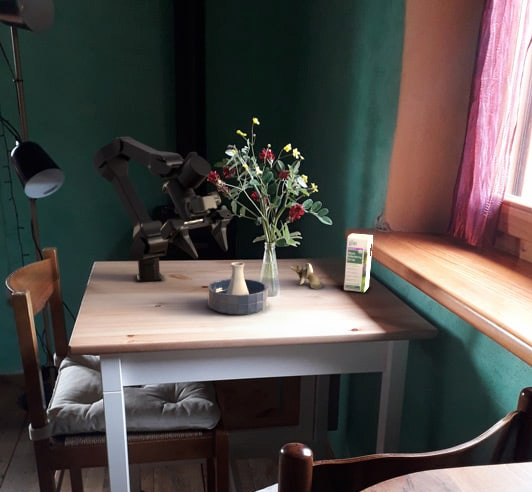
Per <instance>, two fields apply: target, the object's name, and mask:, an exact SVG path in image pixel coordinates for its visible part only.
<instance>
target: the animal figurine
mask: <svg viewBox="0 0 532 492" xmlns="http://www.w3.org/2000/svg"><path fill="white" fill-rule="evenodd" d="M289 267H290V270H291V271H293V272H295V273H296V274H297V275H298V278H299V279H300V282H299V286H301V285H303V284H304V283H305V281H306V280H308V281H309V283H310V288H311V289H315V290H319V289H321V288H322V287H323V282H322V280H321V279H320V278H319V277H318V276H316V275H315V274H314V270H313V266H312V264H311V263H309V262H306V265H305V267H304V266H301V269H300V265H296V267H295V268H294V267H293V266H292V265H289ZM304 268H305V269H304Z"/></svg>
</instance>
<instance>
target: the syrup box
mask: <svg viewBox="0 0 532 492" xmlns="http://www.w3.org/2000/svg"><path fill="white" fill-rule="evenodd" d="M373 236H374V235H373V234H362V233H361V234H360V233H350V234H349V235H348V236H347V239H346V254H345V255H346V256H345V269H344V270H345V271H344V283H343V291H350V292H358V293H365V292H366V291H367V290H368V288H369V286H370V275H371V274H370V273H371V263H372V255H371V256H370V248H371V244H372V245H373V240H374V239H373V238H374V237H373Z"/></svg>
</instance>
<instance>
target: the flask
mask: <svg viewBox="0 0 532 492" xmlns="http://www.w3.org/2000/svg"><path fill="white" fill-rule="evenodd" d="M230 267H231V276H230V277H231V278H230V279H231V281H230V284H229V287H228V290H227V293H226V294H229V295H248V294H249V292H248V290H247V287H246V283H245V280H244V279H245V277H244V267H245V263H244V262H241V261H237V262H236V261H235V262H234V261H233V262H231V263H230Z"/></svg>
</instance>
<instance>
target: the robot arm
mask: <svg viewBox="0 0 532 492" xmlns="http://www.w3.org/2000/svg"><path fill="white" fill-rule="evenodd" d="M130 160H134V161H136V162H138V163H140V164H142V165H144V166H146V167H147V168H148V171H149V173H151V174H152V175H153V176H155V178H157V179H169V180H168V181H165V182H163V186H162V188H161V193H162V194H169V197H170V198H171V200H172V202H173V204H174V206H175V207H174V209H173V211H174V214H175V215H177V214H178V215H179V217H174V218H169V219H167V220H166V222H165V223H164V224H163V223H162V222H161V220H153V219H151V217H150V216H149V213H148V212H147V210H146V208H145V205H144V204H143V202H142V199H141V198H140V196H139V194H138V192H137V190H136V189H135V187H134V184H133V183H132V181H131V178H130V176H129V175H128V172H129V161H130ZM92 162H93V163H92V164H93V165H94V168H95V169H96V171H97V172H98V174H99V176H100V177H101V178H103V179H105V181H107V182H108V183H110V184H111V186H112V188H113V190H114V191H115V193H116V195H117V198H118V199H119V201H120V203H121V205H122V207H123V208H124V211H125V213H126V214H127V216H128V218H129V221H130V223H131V224H132V226H133V233H132V234H133V235H132V239H133V241H134V242H133V243H132V244H131V246H130V248H129V250H128V252H129V255H130V258H131V259H135V260H137V268H138V270H137V271H138V273H137V274H136V278H137V282H138V283H139V282H140V283H141V282H161V281H163V277H162V273H161V272H160V257H163V256H165V257H166V256H167V252H168V251H167V250H168V246H169V243H173V244H174V245H175V246H177V247H178V248H180V249H182V250H183V251H184V252H185V253H187V254H188V255H189V256H190V257H191V258H193V259H194V260H196V259H198V257H199V255H198V252H197V250H196V248H195V246H194V243H193V242H192V240H191V238H190V235H189V234H190V233H189V230H192V229H197V228H202V227H208V228H209V229H210V230H211V231H210V234H211V235H212V236H213V238H214V240H215V241H216V242H217V244H218V245H219V247H220V248H221V250H222V251H223V252H227V251H228V241H227V226H228V225H229V223H230V222H231V220H232V219H233V218H234V216H233V214H232V212H231V211H230V210H229V209H228V208H223V209H218V206H219V205H221V203H222V200H221V197H220V194H219V193H218V191H211V192H209V193H207V195H206V196H201V195H196V193H195V191H194V189H197V188H198V187H199V186H201V184H202V183H203V181H205V180H206V179H207V178H208V176H209V175H211V172H212V168H211V164H210V163H209V162H208V161H207V160H206V159H205V157H202V156H200V155H198V152H197V151H191V152H189V153H188V154H187V155H186V157H185V158H184V159H183V157H182V156H181V154H179V153H176V152H171V151H162V150H161V151H160V150H157V149H155V148H153V147H150V146H148V145H146V144H144V143H141V142H139V141H138V140H135V139H134V138H133V137H132V136H116V137H115V138H113V139H112V141H110V142H109V143H107V144H106V145H104V146H102V147H101V148H99V149H98V150H97V151H96V152H95V153H94V155H93V158H92ZM216 209H217V210H216ZM211 210H215V211H214V212H213V213H212V214H211V215H210V216H208V217H207V215H209V214H210V213H211ZM227 213H228V214H230V215H229V216H226V215H228V214H227Z"/></svg>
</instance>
